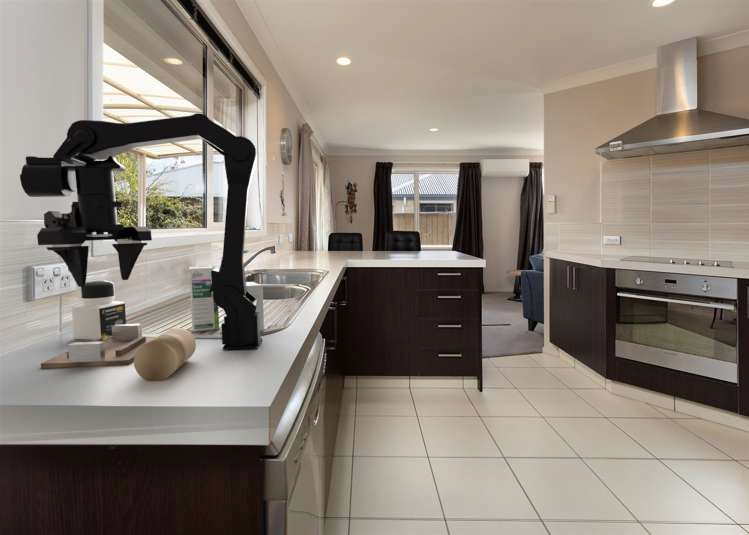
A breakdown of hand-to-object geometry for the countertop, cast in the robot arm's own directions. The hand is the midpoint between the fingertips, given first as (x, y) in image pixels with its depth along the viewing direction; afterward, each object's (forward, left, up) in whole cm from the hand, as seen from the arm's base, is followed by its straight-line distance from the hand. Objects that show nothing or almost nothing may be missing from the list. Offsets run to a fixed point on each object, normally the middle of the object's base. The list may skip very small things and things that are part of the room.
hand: (104, 283), depth 79 cm
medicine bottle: (+10, -16, -14) cm, 23 cm away
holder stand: (+1, -1, -13) cm, 13 cm away
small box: (-21, -18, -14) cm, 31 cm away
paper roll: (-14, +11, -13) cm, 23 cm away
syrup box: (-11, -20, -14) cm, 27 cm away
